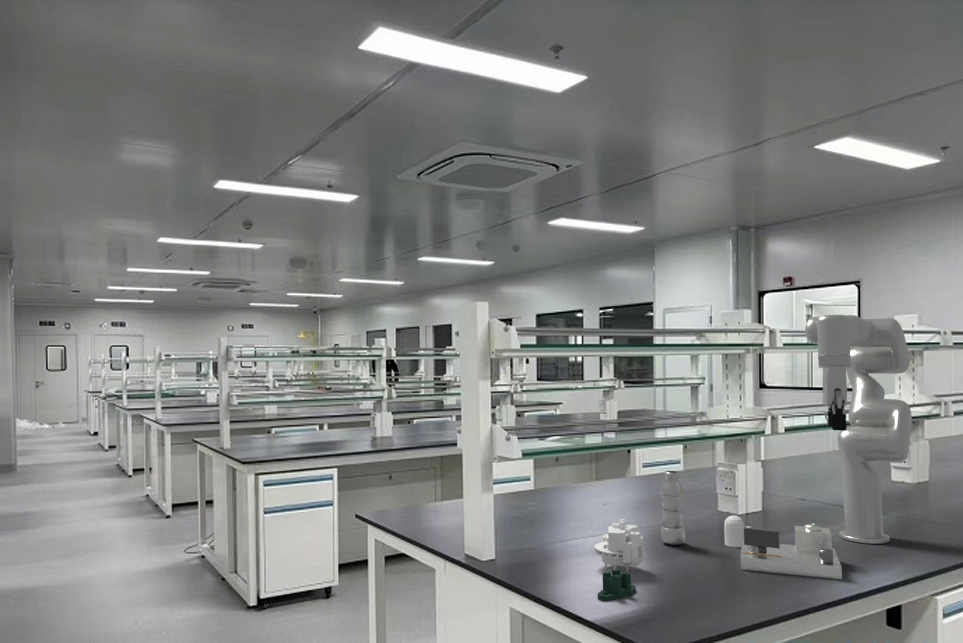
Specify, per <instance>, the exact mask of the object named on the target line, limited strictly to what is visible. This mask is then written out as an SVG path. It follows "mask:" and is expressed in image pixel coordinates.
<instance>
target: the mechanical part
mask: <svg viewBox="0 0 963 643" xmlns="http://www.w3.org/2000/svg"><path fill="white" fill-rule="evenodd" d="M626 521H627V520H626V519H624V518H623V519H622V518H620V519H619V521H618V522H612V523H611V525H610V526H608V527H607V533H604V534H602V536H601V540H602V541H601V542H598V543H596V544H594V546H593V547H594V548H593V549H594V550H593V551H594V553H595V554H596V555H598V556H600V557H601V562H602V563H604V569H605V570H607V569H608V565H610V566H612V567H613V570H616V569H617V566H618V567H621V566H623V567H624V568H625V572H629V567H630V568H636V567H637V566H639V565H641V564H642V562H643V561H644V557H645V547H644V546H645V543H644V537H643V536H641V533H640V532H639V527H638V525H635V524H626V523H627V522H626Z"/></svg>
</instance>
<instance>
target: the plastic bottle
mask: <svg viewBox="0 0 963 643" xmlns="http://www.w3.org/2000/svg"><path fill="white" fill-rule="evenodd" d="M679 475H680V474H679V471H676V470H665V471H664V479H665V481H664V482H663V484H662V485H661V487H660V489H659V491H660V492H659V493H660V498H661V503H662V504H661V505H662V506H661V507H662V521H661V522H662V523H661V530H660V537H661V541H662V542H663V543H665V544H669V545H671V546H674V545H682V544H684V543H685V540H686V536H687V535H686V529H685V527H684V526H685V524H684V513H683V511H684V500H685V499H684V498H685V489H684V486H682V484H681V482H680V480H679V479H680V476H679Z"/></svg>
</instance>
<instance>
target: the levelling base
mask: <svg viewBox="0 0 963 643" xmlns="http://www.w3.org/2000/svg"><path fill="white" fill-rule="evenodd" d="M794 543H795V544H786V543H785V544H784V543H780V548H770V547H767V553H766V554H761V553H758V546H752V545H744V541H742V545H741V547H740V570H741V571H752V572H760V573H761V572H762V573H771V574H774V573H775V574H783V575H791V576H801V577H812V578H822V579H823V578H824V579H832V580H843V571H842V570H843V569H842V568H843V567H842V564H841V562H840V560H839V557H838V555H837V552H836V550H835V548H833V544H832V543H833V542H832V532H831V529H830V528H828V527H821V525H819V524H817V523H815V522H813V523H805V524H804V525H802V526H801V525H794Z"/></svg>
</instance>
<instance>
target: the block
mask: <svg viewBox="0 0 963 643" xmlns="http://www.w3.org/2000/svg"><path fill="white" fill-rule="evenodd" d="M744 526H745V527H744V545H752V546H758V553H761V554H766V553H767V547H770V548H780V544H781V535H780V534H781V531H780V529H777V528H769V527H757V526H750V525H749V526H748V525H744Z"/></svg>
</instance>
